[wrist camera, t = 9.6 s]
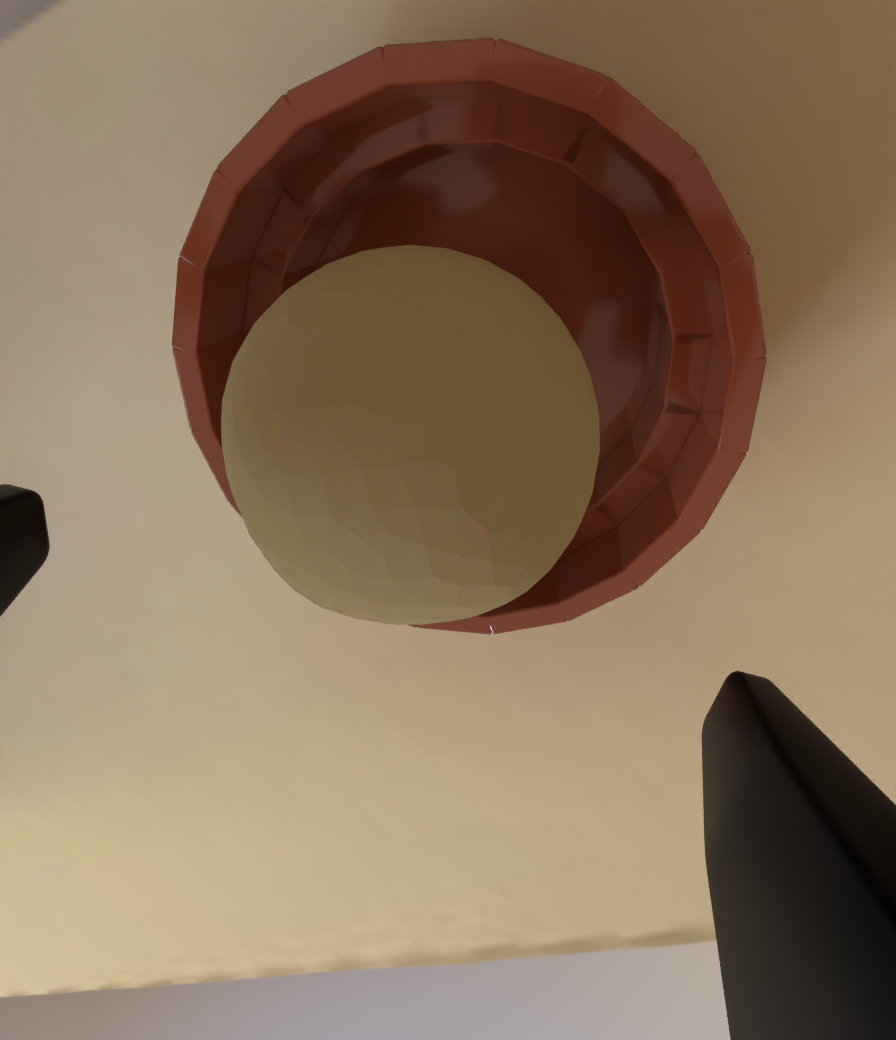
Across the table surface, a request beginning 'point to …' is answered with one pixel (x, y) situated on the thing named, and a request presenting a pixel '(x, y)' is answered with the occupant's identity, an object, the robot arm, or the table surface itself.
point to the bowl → (507, 269)
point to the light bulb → (410, 435)
